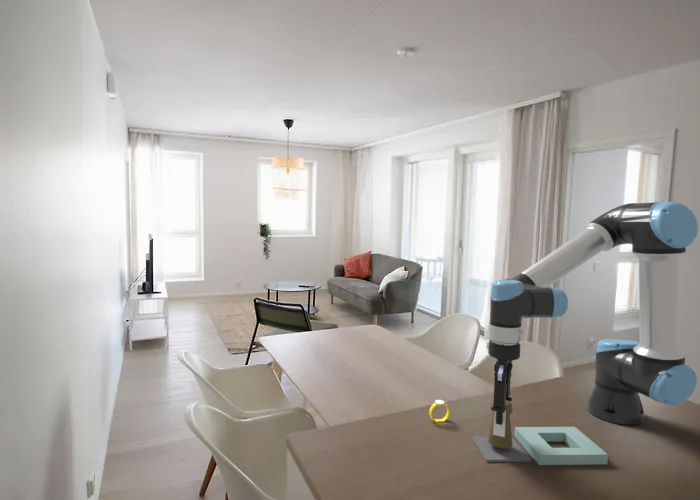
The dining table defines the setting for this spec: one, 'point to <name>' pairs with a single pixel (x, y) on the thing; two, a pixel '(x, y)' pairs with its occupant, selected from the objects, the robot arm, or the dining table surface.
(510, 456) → the rubber mat
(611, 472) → the dining table surface
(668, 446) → the dining table surface
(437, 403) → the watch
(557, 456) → the socket board
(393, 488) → the dining table surface
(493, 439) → the cork
